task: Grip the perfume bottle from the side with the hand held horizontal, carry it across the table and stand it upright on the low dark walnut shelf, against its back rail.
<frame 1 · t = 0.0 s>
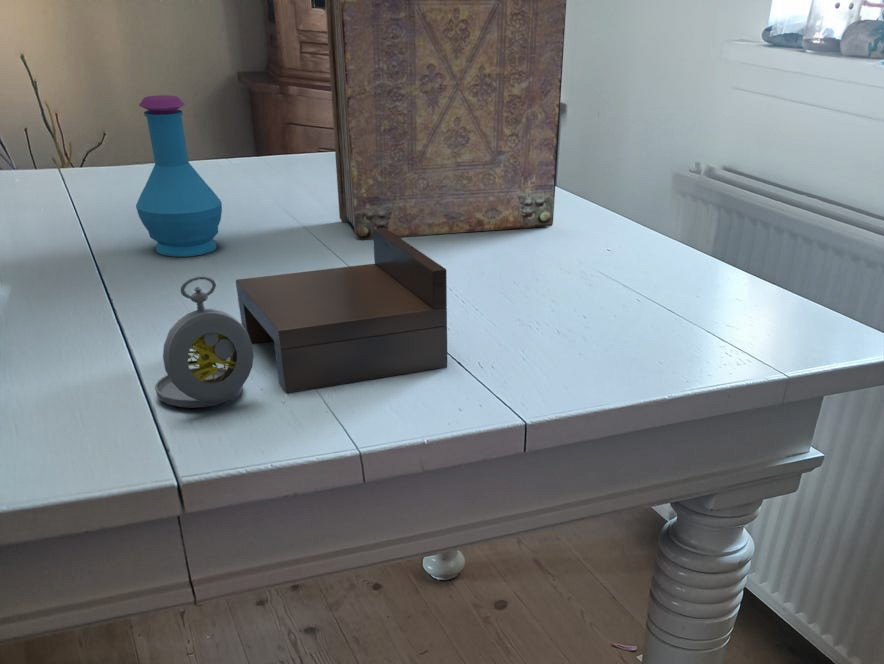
perfume bottle: (187, 250, 106), on the table
shelf: (342, 351, 81), on the table
pocket watch: (205, 403, 72), on the table
book: (446, 225, 116), on the table
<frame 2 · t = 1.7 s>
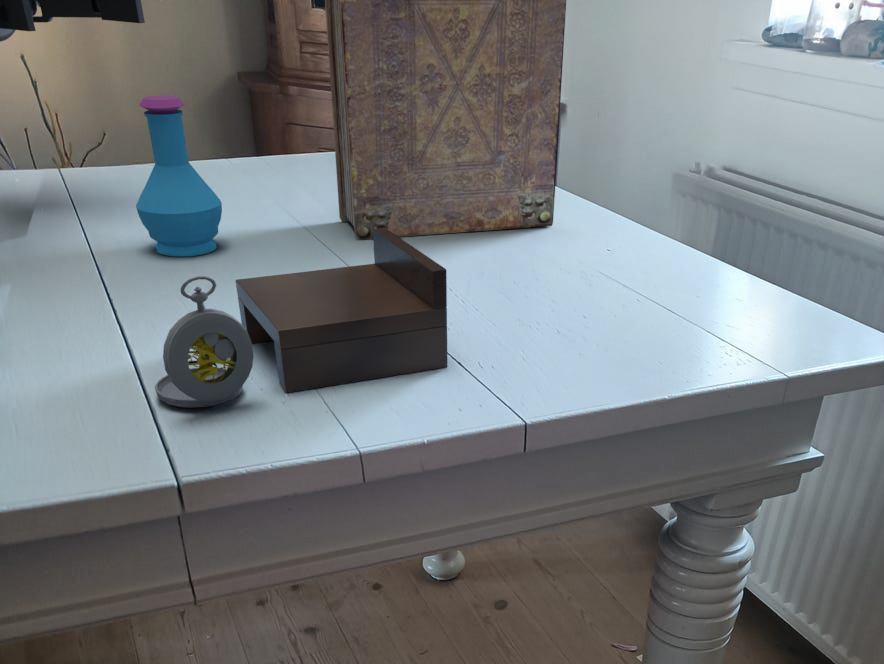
hand: (86, 11, 97), 22 cm above the table, tool horizontal, fingers open, 13 cm apart
nothing on the table moved.
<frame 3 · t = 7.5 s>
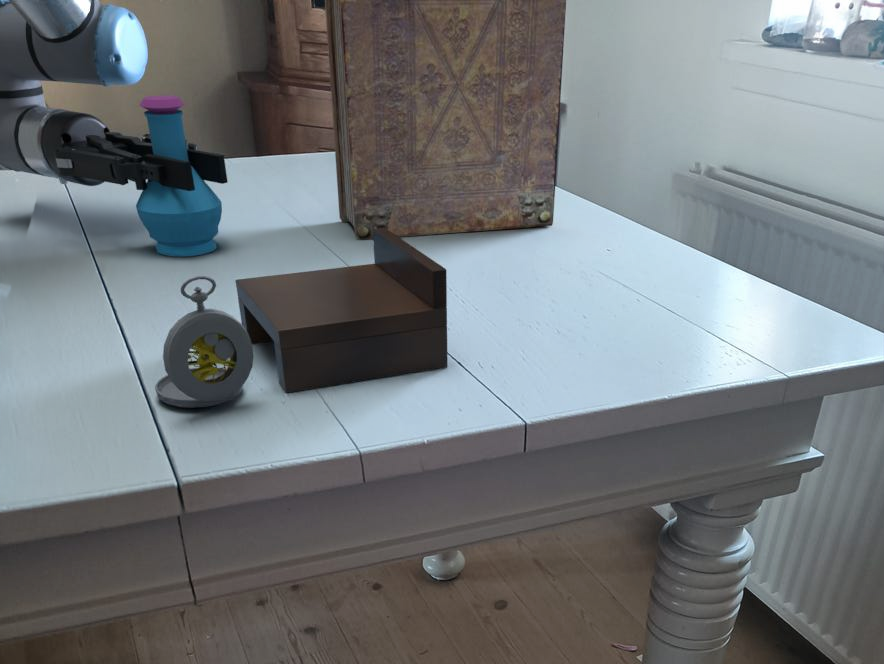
hand: (206, 172, 98), 8 cm above the table, tool horizontal, fingers closed on perfume bottle, 4 cm apart
perfume bottle: (186, 250, 106), on the table, touching gripper
everything else where it was.
when the fingers open (14 cm above the table, at t = 17.5 s): perfume bottle stays where it is, resting on shelf.
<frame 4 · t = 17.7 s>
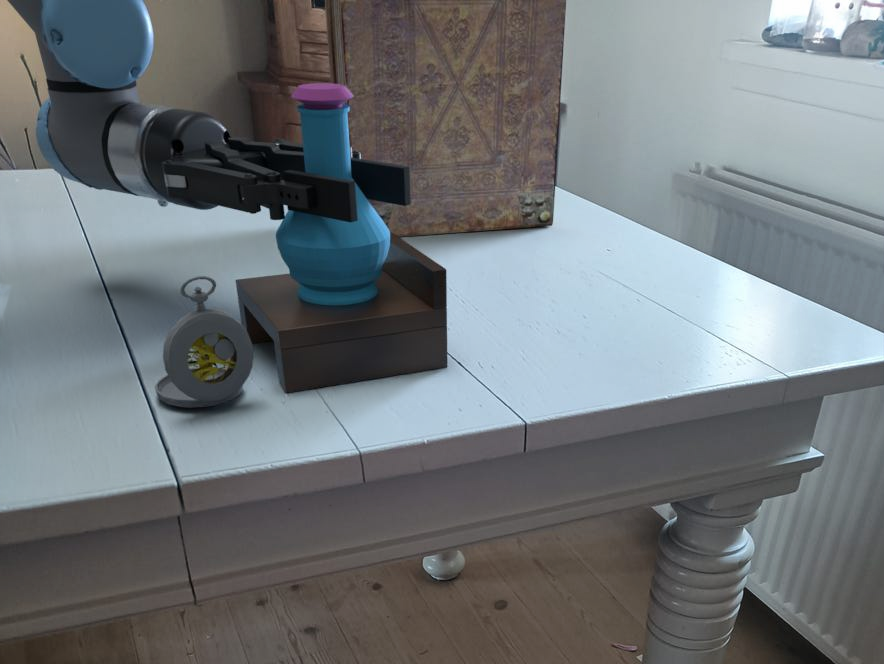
hand: (380, 194, 70), 13 cm above the table, tool horizontal, fingers open, 6 cm apart
perfume bottle: (338, 295, 78), point 5 cm above the table, touching gripper, shelf
everything else where it was.
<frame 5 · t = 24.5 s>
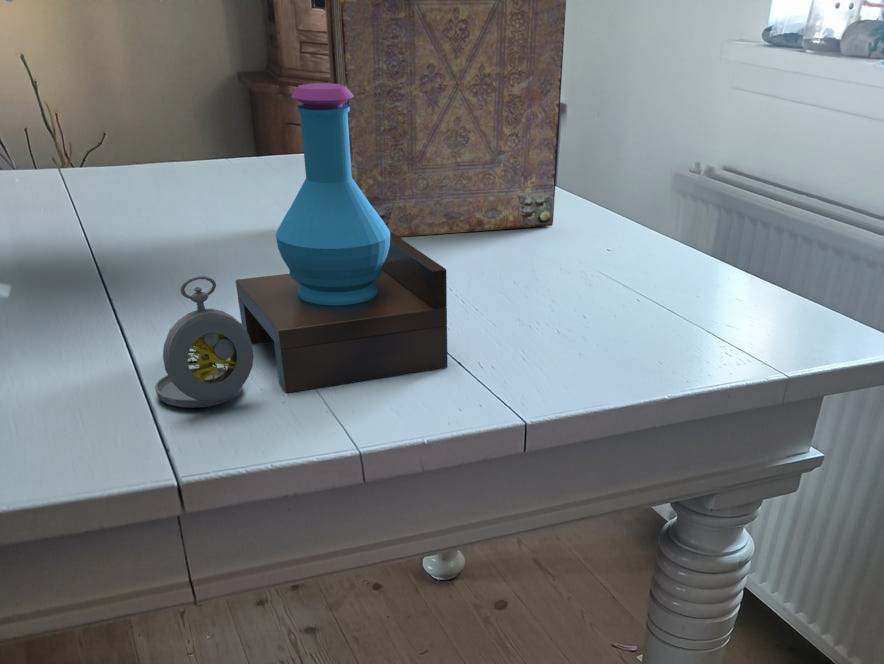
perfume bottle: (338, 295, 78), point 5 cm above the table, touching shelf
everything else where it was.
at the end: perfume bottle inside the target area on the shelf (0.0 cm from its centre), point 4.8 cm above the shelf's base; perfume bottle tilted 0°; the gripper is holding nothing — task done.
